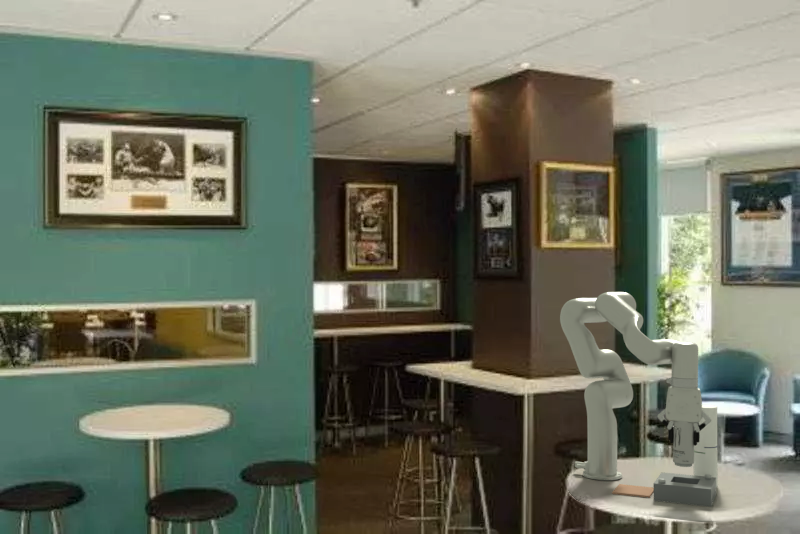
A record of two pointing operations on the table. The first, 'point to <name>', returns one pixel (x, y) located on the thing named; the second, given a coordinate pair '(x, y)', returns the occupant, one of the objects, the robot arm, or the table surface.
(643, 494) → the coaster
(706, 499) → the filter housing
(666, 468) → the table surface
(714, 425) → the cylindrical container
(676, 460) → the energy drink can
